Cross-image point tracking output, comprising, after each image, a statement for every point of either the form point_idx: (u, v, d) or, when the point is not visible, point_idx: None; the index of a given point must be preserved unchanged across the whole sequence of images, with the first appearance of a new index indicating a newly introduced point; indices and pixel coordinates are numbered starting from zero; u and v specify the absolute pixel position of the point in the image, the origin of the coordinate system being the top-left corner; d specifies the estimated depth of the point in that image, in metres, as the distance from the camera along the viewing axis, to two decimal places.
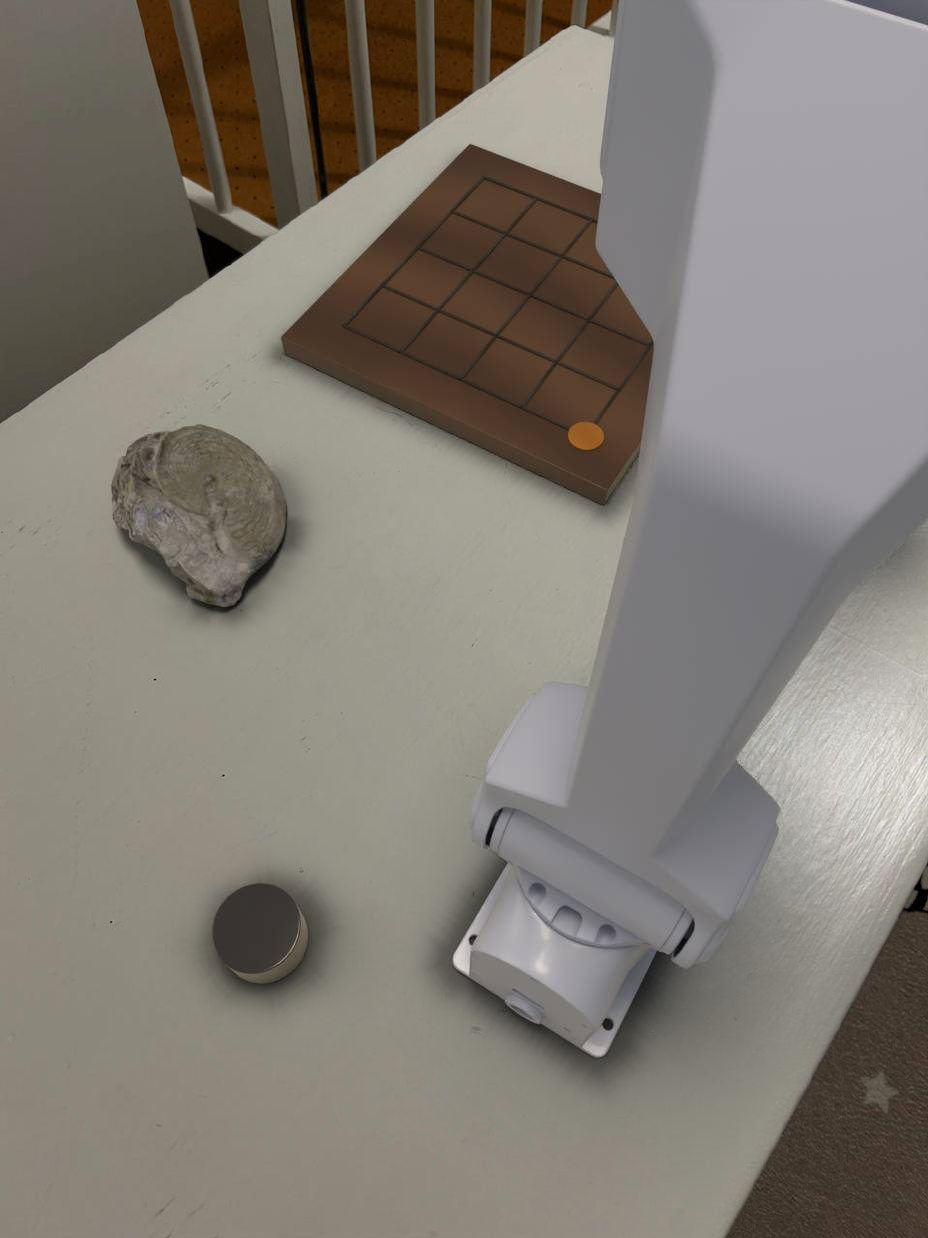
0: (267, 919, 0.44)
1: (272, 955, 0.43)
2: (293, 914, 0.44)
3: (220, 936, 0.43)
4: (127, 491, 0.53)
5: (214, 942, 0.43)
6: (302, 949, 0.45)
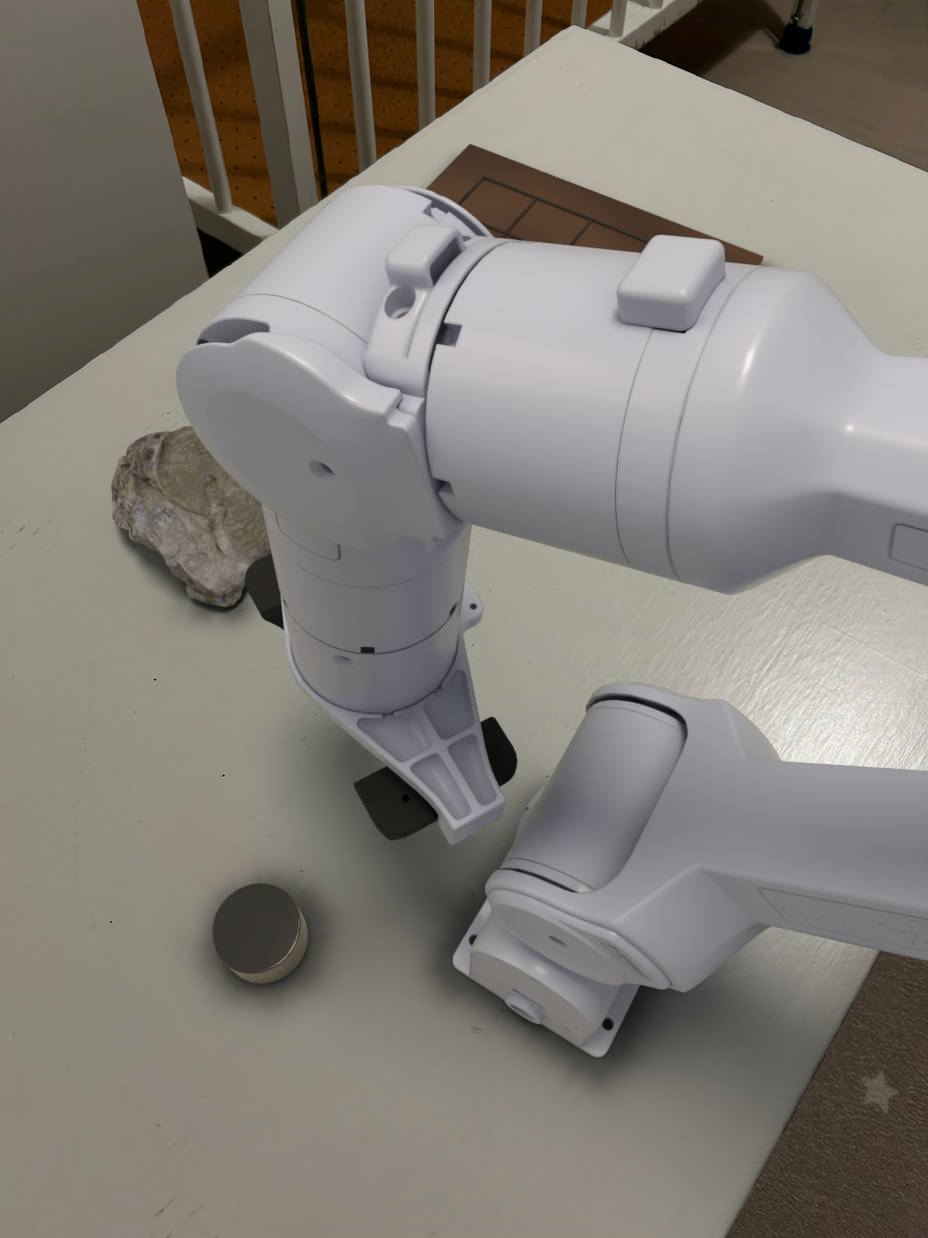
0: (267, 919, 0.44)
1: (272, 955, 0.43)
2: (293, 914, 0.44)
3: (220, 936, 0.43)
4: (127, 491, 0.53)
5: (214, 942, 0.43)
6: (302, 949, 0.45)
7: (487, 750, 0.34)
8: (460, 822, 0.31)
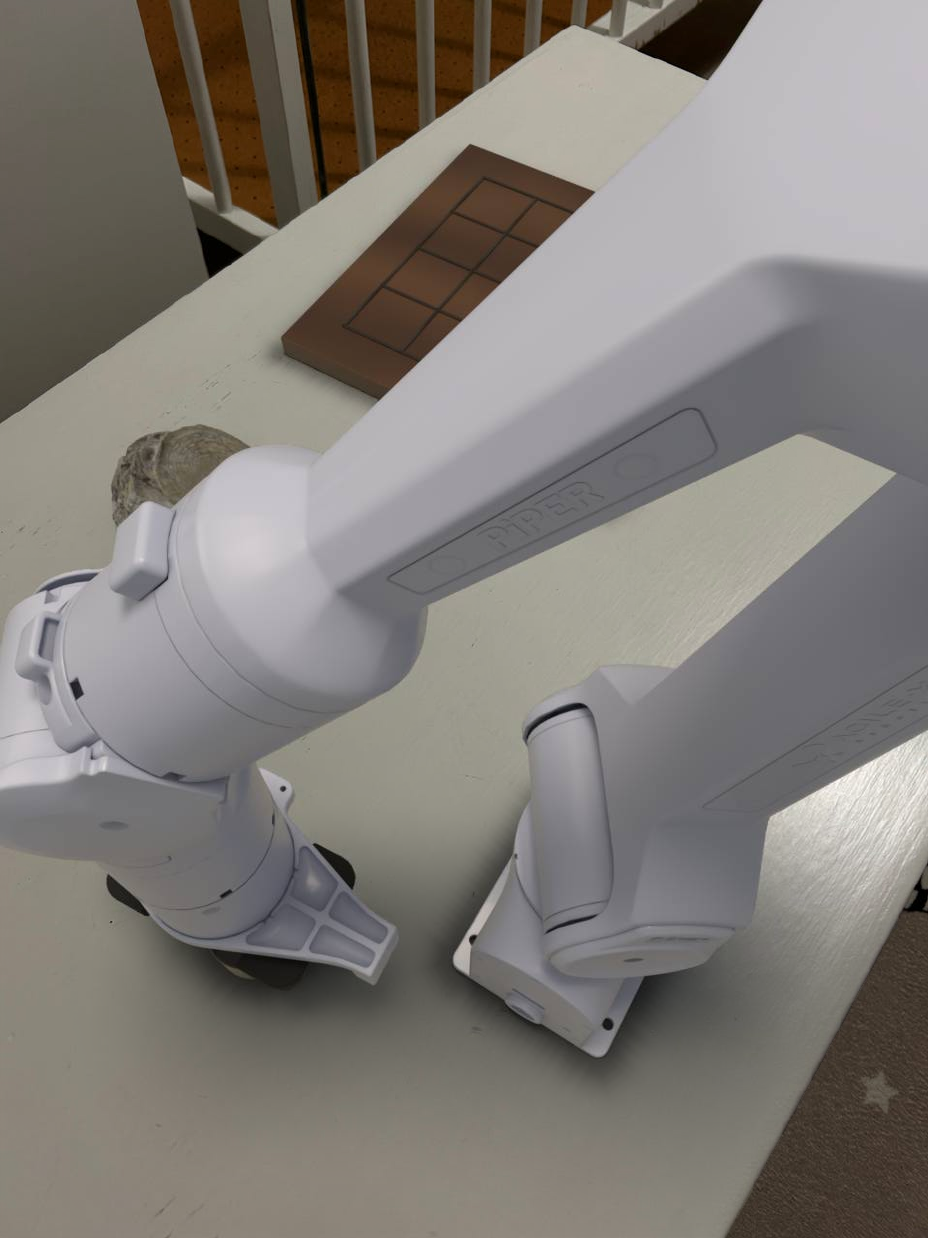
0: None
1: None
2: None
3: None
4: (127, 491, 0.53)
5: None
6: None
7: None
8: (372, 967, 0.35)
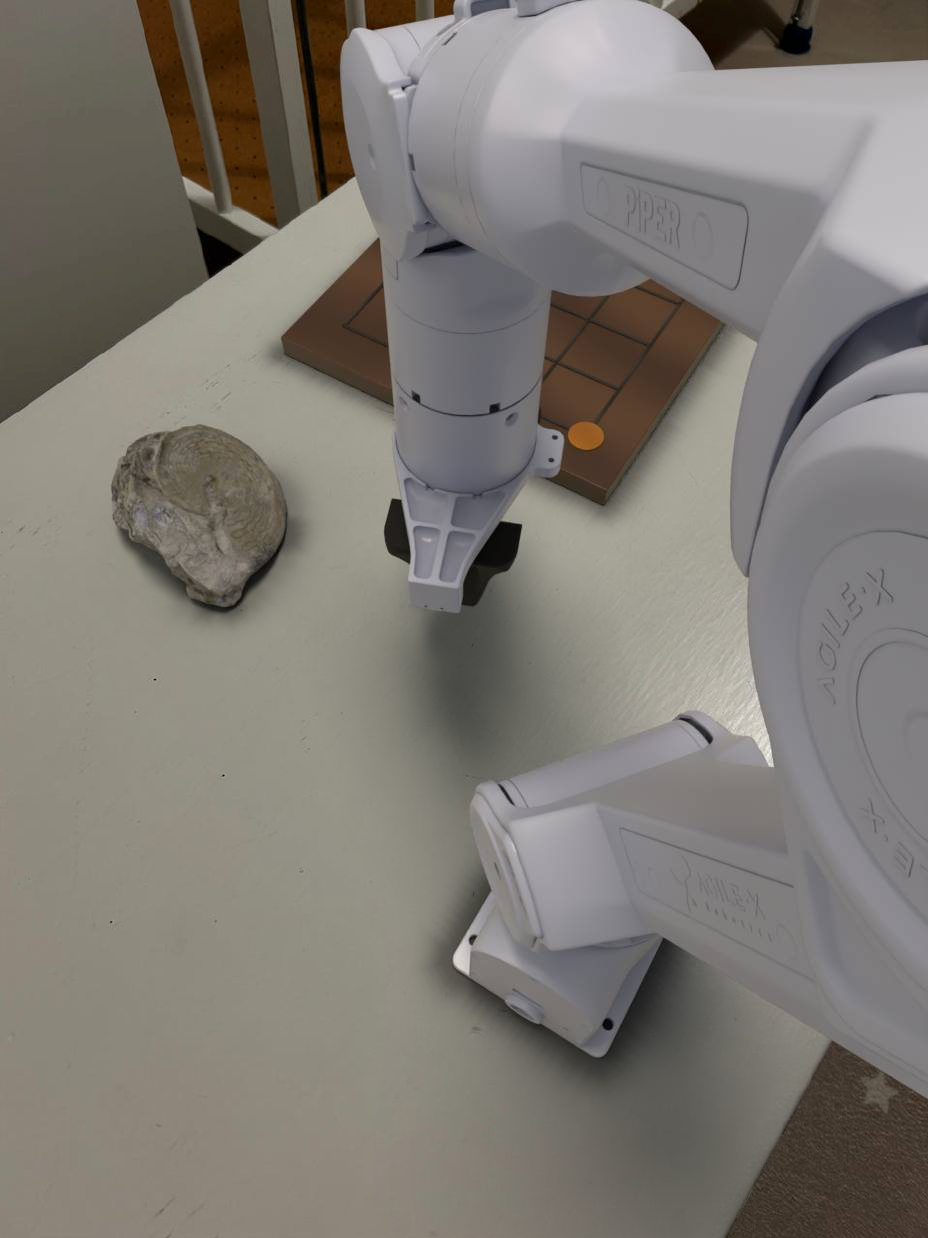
0: None
1: None
2: None
3: None
4: (127, 491, 0.53)
5: None
6: None
7: (497, 539, 0.40)
8: (415, 578, 0.36)
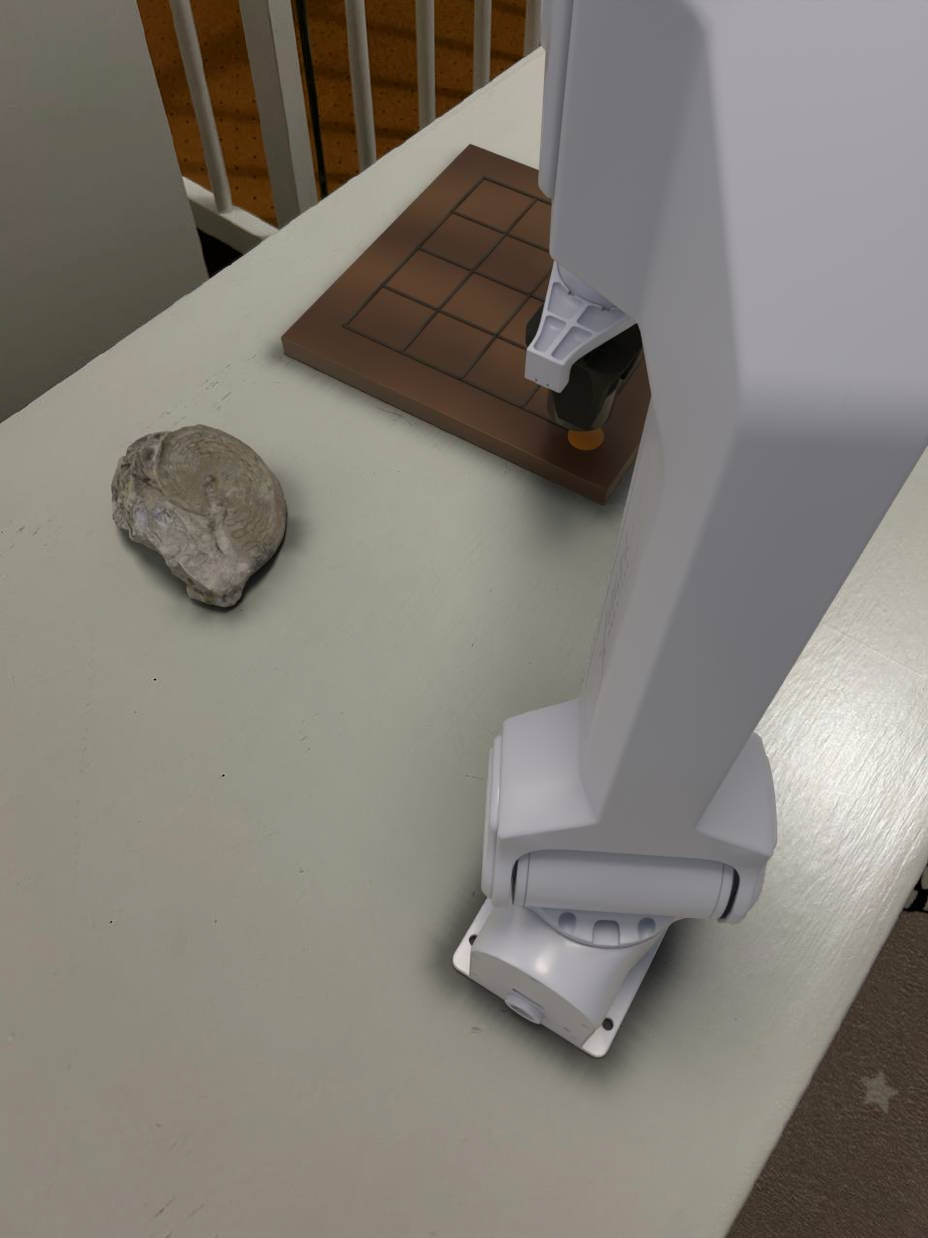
0: None
1: None
2: None
3: None
4: (127, 491, 0.53)
5: None
6: None
7: (613, 355, 0.48)
8: (533, 349, 0.45)
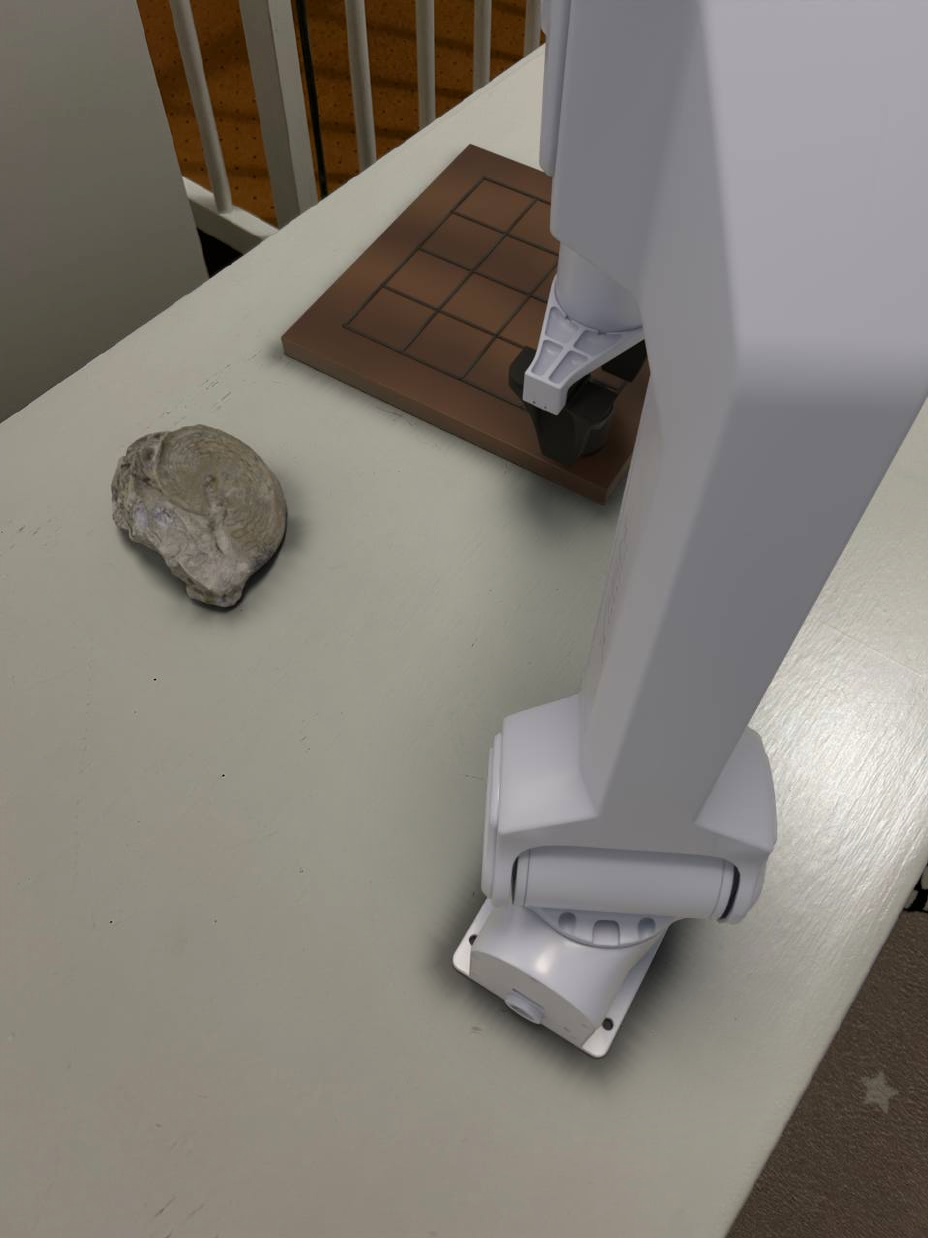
0: None
1: None
2: None
3: None
4: (127, 491, 0.53)
5: None
6: None
7: (595, 398, 0.49)
8: (531, 373, 0.47)
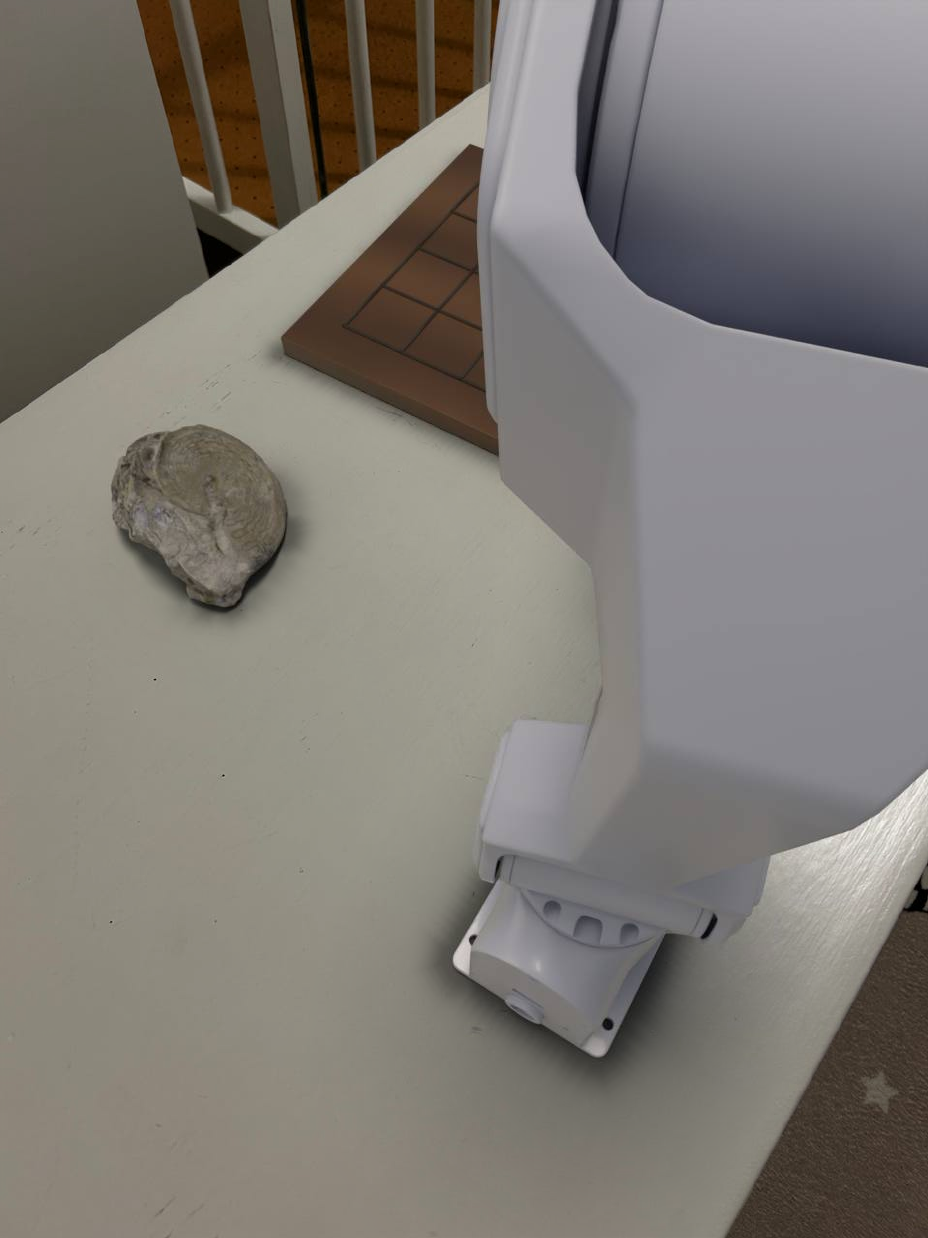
0: None
1: None
2: None
3: None
4: (127, 491, 0.53)
5: None
6: None
7: None
8: None
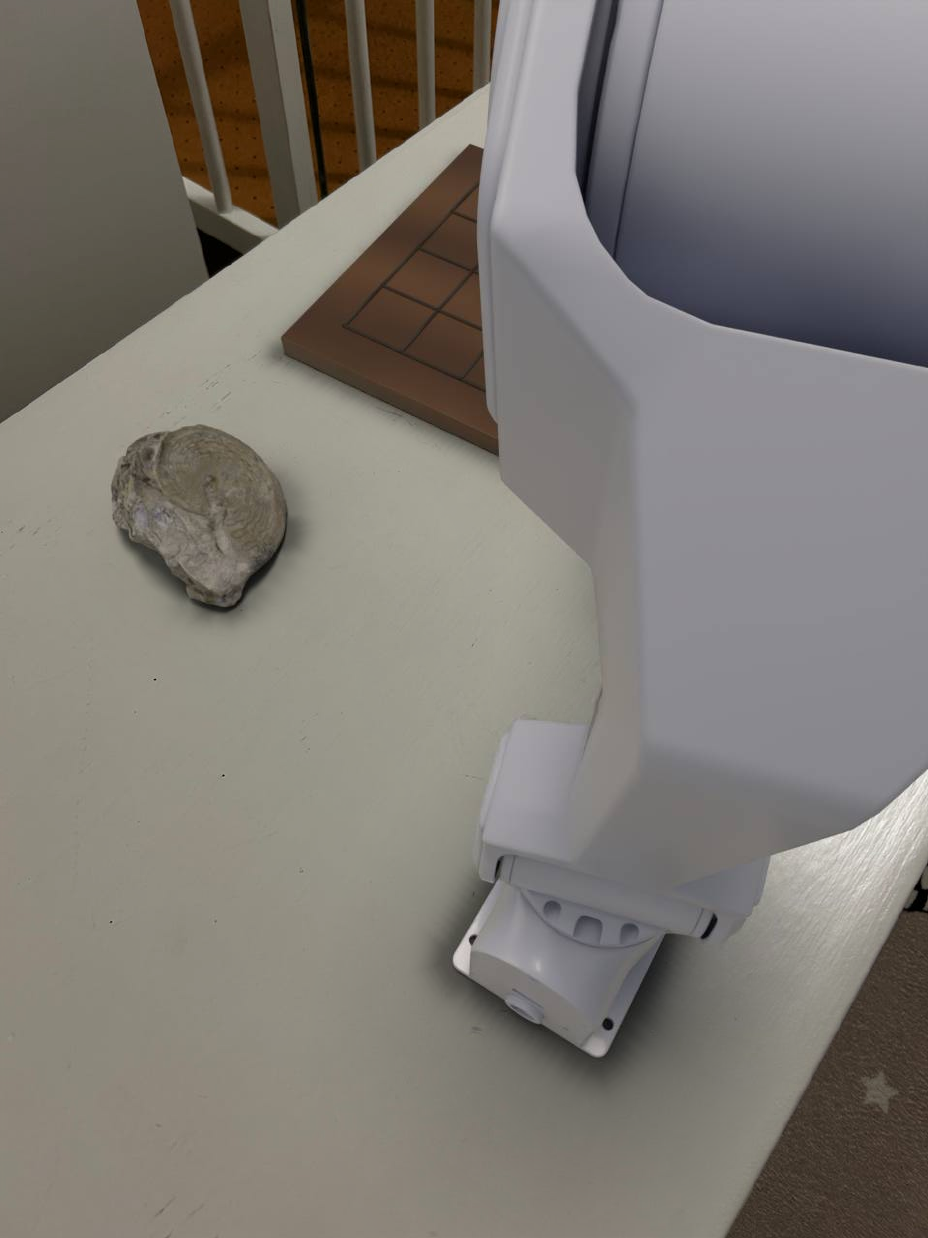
0: None
1: None
2: None
3: None
4: (127, 491, 0.53)
5: None
6: None
7: None
8: None
